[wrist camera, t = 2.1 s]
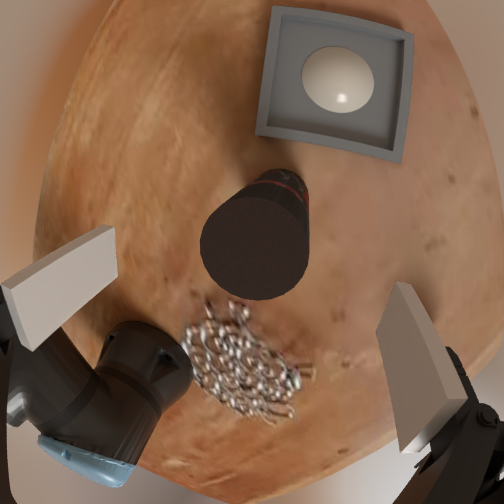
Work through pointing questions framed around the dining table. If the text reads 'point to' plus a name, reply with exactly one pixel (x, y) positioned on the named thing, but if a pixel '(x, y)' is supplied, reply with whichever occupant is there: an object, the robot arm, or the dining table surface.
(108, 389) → the robot arm
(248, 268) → the deodorant
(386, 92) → the rest tray
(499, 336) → the dining table surface
